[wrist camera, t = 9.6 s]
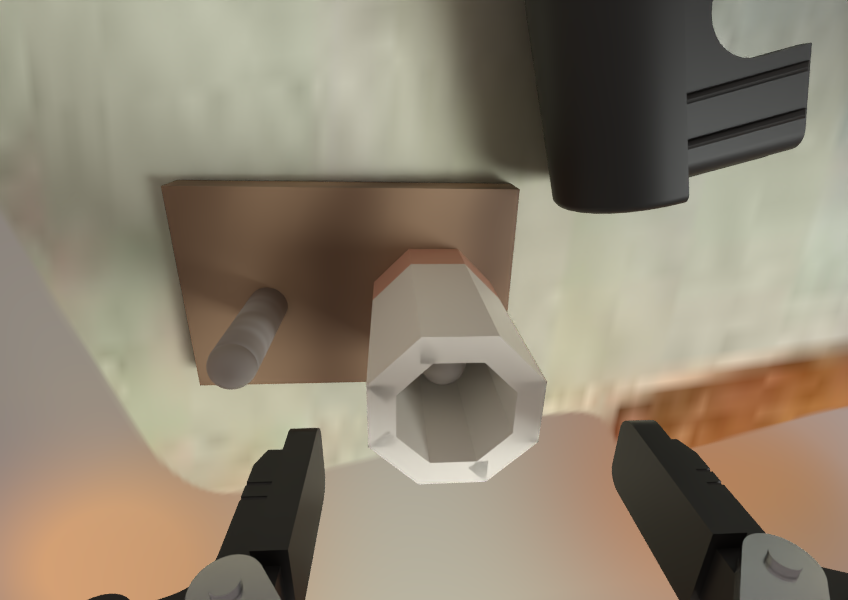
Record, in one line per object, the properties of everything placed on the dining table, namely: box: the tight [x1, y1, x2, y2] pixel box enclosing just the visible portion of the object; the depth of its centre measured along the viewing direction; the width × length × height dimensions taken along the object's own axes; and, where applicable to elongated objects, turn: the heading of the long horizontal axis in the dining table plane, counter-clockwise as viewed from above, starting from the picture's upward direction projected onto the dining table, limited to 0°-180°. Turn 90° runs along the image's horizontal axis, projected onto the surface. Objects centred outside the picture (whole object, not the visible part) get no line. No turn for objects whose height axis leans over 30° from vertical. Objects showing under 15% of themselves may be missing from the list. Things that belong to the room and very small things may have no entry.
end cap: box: [525, 0, 812, 214], centre depth 15 cm, size 10×7×7 cm
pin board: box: [161, 180, 520, 389], centre depth 18 cm, size 14×9×7 cm, turn 89°
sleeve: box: [366, 249, 547, 484], centre depth 17 cm, size 5×5×8 cm
